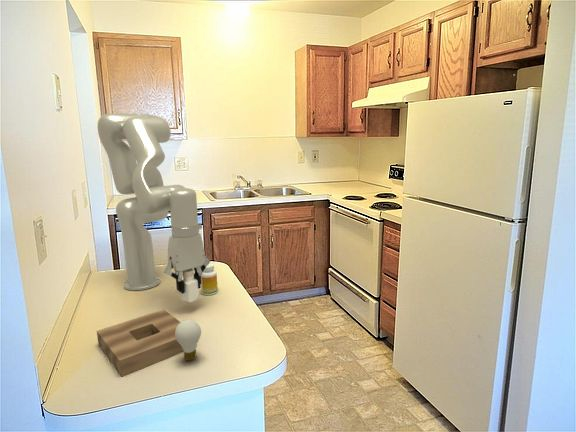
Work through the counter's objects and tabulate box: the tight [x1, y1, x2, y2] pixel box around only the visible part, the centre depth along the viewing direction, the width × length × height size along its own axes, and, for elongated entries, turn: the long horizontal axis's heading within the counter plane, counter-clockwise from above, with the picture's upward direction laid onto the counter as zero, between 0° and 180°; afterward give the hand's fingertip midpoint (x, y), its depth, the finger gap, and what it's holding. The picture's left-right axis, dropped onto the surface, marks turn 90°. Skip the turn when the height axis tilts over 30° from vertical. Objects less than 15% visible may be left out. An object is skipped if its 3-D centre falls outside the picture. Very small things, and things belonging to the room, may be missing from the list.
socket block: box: [96, 309, 184, 377], centre depth 98 cm, size 18×18×4 cm
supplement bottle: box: [200, 263, 219, 296], centre depth 130 cm, size 5×5×10 cm
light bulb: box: [175, 319, 202, 361], centre depth 91 cm, size 6×6×10 cm
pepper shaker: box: [180, 268, 200, 303], centre depth 116 cm, size 4×4×10 cm
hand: (189, 288), depth 117 cm, fingers closed on pepper shaker, 4 cm apart
